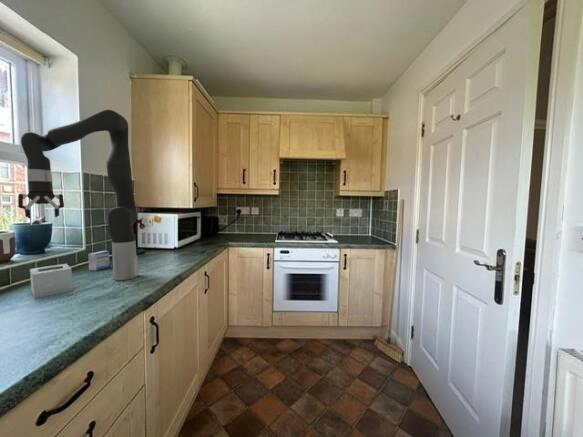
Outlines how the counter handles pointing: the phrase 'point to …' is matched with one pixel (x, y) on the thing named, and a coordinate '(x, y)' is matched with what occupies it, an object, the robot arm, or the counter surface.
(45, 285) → the money box
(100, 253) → the medicine box
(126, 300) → the counter surface
